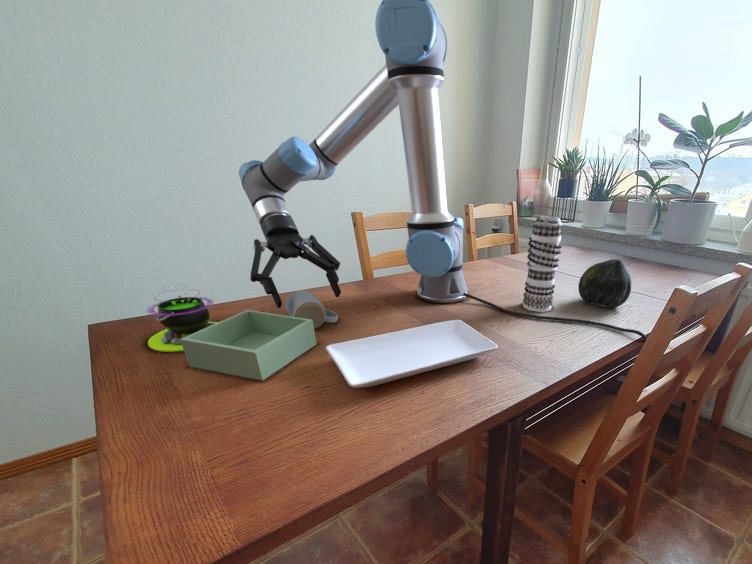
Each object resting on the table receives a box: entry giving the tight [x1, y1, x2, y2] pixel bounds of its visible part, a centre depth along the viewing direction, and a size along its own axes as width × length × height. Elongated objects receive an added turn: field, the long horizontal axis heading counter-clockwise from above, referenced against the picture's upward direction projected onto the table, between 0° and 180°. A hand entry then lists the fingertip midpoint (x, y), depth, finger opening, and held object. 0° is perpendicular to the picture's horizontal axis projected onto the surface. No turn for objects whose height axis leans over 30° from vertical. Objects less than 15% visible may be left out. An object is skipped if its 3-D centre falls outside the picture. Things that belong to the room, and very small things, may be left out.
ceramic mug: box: [285, 289, 339, 330], centre depth 89 cm, size 11×8×8 cm
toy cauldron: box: [146, 283, 218, 353], centre depth 79 cm, size 15×15×11 cm
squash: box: [578, 258, 632, 309], centre depth 112 cm, size 14×15×15 cm
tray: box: [325, 319, 499, 389], centre depth 77 cm, size 17×31×4 cm, turn 124°
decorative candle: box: [522, 215, 564, 313], centre depth 104 cm, size 9×9×25 cm
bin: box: [180, 309, 318, 381], centre depth 75 cm, size 16×16×6 cm
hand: (310, 299), depth 88 cm, fingers open, 13 cm apart
